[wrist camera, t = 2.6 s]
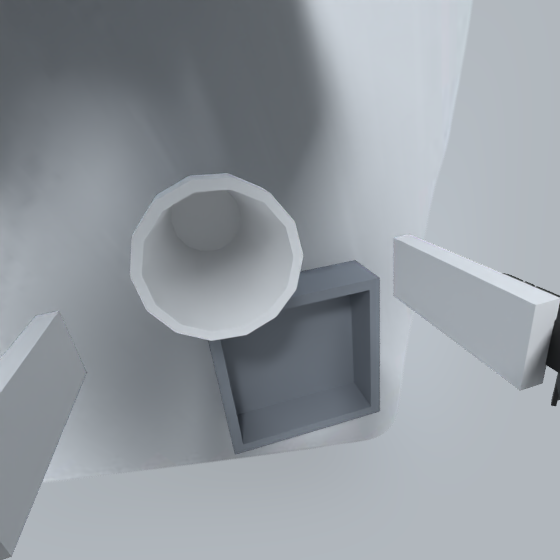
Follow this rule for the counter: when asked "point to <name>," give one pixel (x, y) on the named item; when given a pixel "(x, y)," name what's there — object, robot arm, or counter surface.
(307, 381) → the bin
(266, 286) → the foam cup
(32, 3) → the counter surface
